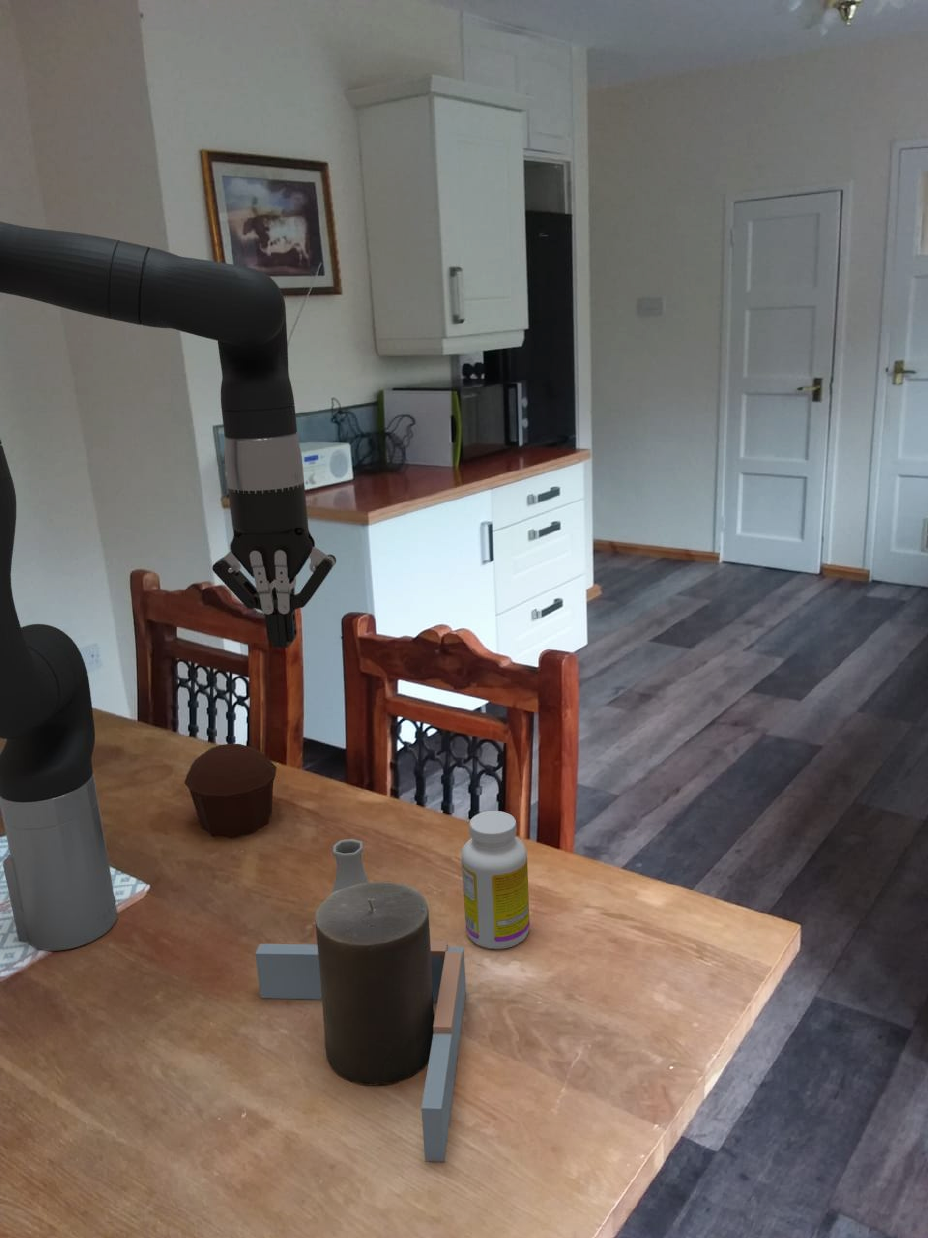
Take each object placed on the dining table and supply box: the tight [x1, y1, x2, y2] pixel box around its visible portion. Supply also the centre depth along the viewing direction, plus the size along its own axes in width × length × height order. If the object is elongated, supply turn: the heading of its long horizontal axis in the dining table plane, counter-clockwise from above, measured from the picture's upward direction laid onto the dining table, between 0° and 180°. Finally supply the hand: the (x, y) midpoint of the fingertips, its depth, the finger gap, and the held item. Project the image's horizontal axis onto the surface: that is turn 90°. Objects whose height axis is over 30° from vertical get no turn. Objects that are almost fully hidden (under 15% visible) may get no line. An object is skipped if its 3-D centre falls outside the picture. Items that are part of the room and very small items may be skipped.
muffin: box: [184, 743, 277, 840], centre depth 126 cm, size 12×11×10 cm
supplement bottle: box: [461, 810, 530, 950], centre depth 100 cm, size 7×7×13 cm
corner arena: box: [254, 940, 467, 1163], centre depth 84 cm, size 20×20×6 cm
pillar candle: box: [314, 881, 435, 1086], centre depth 85 cm, size 10×10×15 cm
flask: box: [331, 838, 371, 893], centre depth 102 cm, size 7×7×10 cm
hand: (282, 645), depth 103 cm, fingers closed
